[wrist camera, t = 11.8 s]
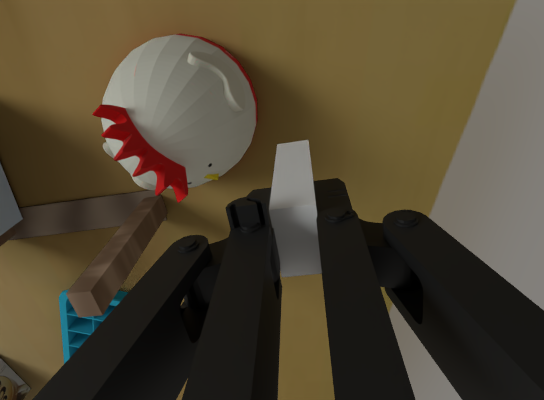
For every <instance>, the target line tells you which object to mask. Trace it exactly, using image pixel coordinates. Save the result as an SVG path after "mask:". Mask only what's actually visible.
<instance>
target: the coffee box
mask: <svg viewBox="0 0 544 400" xmlns="http://www.w3.org/2000/svg"><path fill="white" fill-rule="evenodd" d="M30 389H31V388H30V387H29V386H28V385H27V384H26V383H25V382H24V381H23V380H22V379H21V378H20V377H19V376H18V375H17V374H16V373H15V372H14V371H13V370H12V369H11V368H10V367H9V366H8V365H7V364H6V363H5V362H4V361H3V360H2V359H1V358H0V400H23V399H24V398H25V396H26V395H27V393H28V392H29V391H30Z"/></svg>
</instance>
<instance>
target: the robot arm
mask: <svg viewBox="0 0 544 400" xmlns="http://www.w3.org/2000/svg"><path fill="white" fill-rule="evenodd" d="M226 212H227V216H228V220H229V224H230V228H231V231H230V235H229V237H228V238H226V239H224V240H222V241H219V242H215V243H212V244H209V243H208V239H207V238H206V237H204V236H201V235H190V236H187V237H183V238H181V239H180V240H178V241H176V242H174V243H173V244H172V245H171V246H170V247H169V248H168V249H167V250H166V251H165V253H164V254H163V255H162V256H161V257H160V258H159V259H158V260H157V261H156V263H155V264H154V265H153V266H152V267H151V268H150V269H149V270H148V271H147V273H146V274H145V275H144V276H143V277H142V278H141V279H140V280H139V282H138V283H137V284H136V285H135V286H134V287H133V288H132V289H131V290H130V292H129V293H128V294H127V295H126V296H125V297H124V298H123V299H122V300H121V302H120V303H119V304H118V305H117V306H116V307H115V308H114V309H113V310H112V312H111V313H110V314H109V315H108V316H107V317H106V318H105V319H104V321H103V322H102V323H101V324H100V325H99V326H98V327H97V328H96V329H95V331H94V332H93V333H92V334H91V335H90V336H89V337H88V338H87V339H86V341H85V342H84V343H83V344H82V345H81V346H80V347H79V348H78V349H77V351H76V352H75V353H74V354H73V355H72V356H71V357H70V358H69V360H68V361H67V362H66V363H65V364H64V365H63V366H62V367H61V368H60V370H59V371H58V372H57V373H56V374H55V375H54V376H53V377H52V378H51V380H50V381H49V382H48V383H47V384H46V385H45V386H44V387H43V388H42V390H41V391H40V392H39V393H38V394H37V395H36V396H35V397H34V399H33V400H176V399H177V397H178V395H179V393H180V391H181V390H182V388H183V386H184V384H185V382H186V380H187V378H188V380H187V384H186V387H185V391H184V394H183V397H182V400H277V398H278V373H279V348H280V322H281V297H282V285H281V280H280V270H281V275H282V277H290V276H300V275H310V274H321V273H322V280H323V289H324V299H325V308H326V318H327V328H328V337H329V347H330V356H331V366H332V375H333V385H334V394H335V400H415V397H414V394H413V390H412V387H411V384H410V381H409V378H408V374H407V371H406V368H405V365H404V362H403V358H402V355H401V352H400V349H399V346H398V342H397V339H396V336H395V333H394V330H393V327H392V324H391V320H390V317H389V314H388V311H387V307H386V304H385V301H384V298H383V295H382V292H381V288H380V287H385V291H386V293H387V295H388V296H389V298H390V299H391V301H392V302H393V303H394V305H395V306H396V308H397V309H398V310H399V312H400V313H401V315H402V316H403V317H404V319H405V320H406V322H407V323H408V324H409V326H410V327H411V329H412V330H413V331H414V333H415V334H416V335H417V337H418V338H419V340H420V341H421V343H422V344H423V345H424V346H425V348H426V349H427V351H428V352H429V354H430V355H431V357H432V358H433V359H434V361H435V362H436V364H437V365H438V366H439V368H440V369H441V371H442V372H443V373H444V375H445V376H446V377H447V379H448V380H449V382H450V383H451V385H452V386H453V387H454V389H455V390H456V392H457V393H458V394H459V396H460V397H461V399H462V400H544V310H542V309H541V308H540V307H539V306H537V305H536V304H535V303H533V302H532V301H531V300H530V299H529V298H527V297H526V296H525V295H524V294H522V293H521V292H520V291H519V290H518V289H516V288H515V287H514V286H513V285H511V284H510V283H509V282H507V281H506V280H505V279H504V278H503V277H501V276H500V275H499V274H498V273H496V272H495V271H494V270H493V269H491V268H490V267H489V266H488V265H487V264H485V263H484V262H483V261H482V260H480V259H479V258H478V257H477V256H475V255H474V254H473V253H472V252H470V251H469V250H468V249H467V248H465V247H464V246H463V245H462V244H460V243H459V242H458V241H457V240H456V239H454V238H453V237H452V236H451V235H449V234H448V233H447V232H446V231H444V230H443V229H442V228H441V227H439V226H438V225H437V224H436V223H435V222H433V221H432V220H431V219H430V218H428V217H427V216H426V215H424V214H422V213H420V212H416V211H412V210H399V211H394V212H391V213H389V214H387V215H386V216H385V217H384V218H383V223H373V222H367V221H363V220H361V219H359V218H358V215H357V214H356V212H355V211H354V210H353V209H352V206H351V203H350V200H349V196H348V193H347V190H346V186H345V183H344V182H343V181H341V180H340V179H338V178H335V179H327V180H319V181H313V173H312V165H311V157H310V149H309V141H308V140H303V141H296V142H289V143H282V144H277V150H276V158H275V166H274V174H273V181H272V188H264V189H257V190H253V191H252V192H250V193H249V194H248V195H247V197H243V198H239V199H237V200H234V201H232V202H231V203H229V204H228V205H227V207H226ZM183 298H184V300H185V301H184V302H183V304H182V305H181V302H182V300H183Z"/></svg>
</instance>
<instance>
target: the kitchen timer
mask: <svg viewBox="0 0 544 400" xmlns="http://www.w3.org/2000/svg"><path fill="white" fill-rule="evenodd" d="M92 115H94V116H97V117H101V118H102V125H103V130H104V133H103V134H102V137H105V138H106V142H105V143H104V144H103V148H104V150H105V152H106V153H107V154H108V155H110V156H111V157H112V158H114V160H115V161H118V162H119V163H120V164H121V165H122V166H123V167H124V168H125V169H126V170H127V171H128V172H129V173H130V175H131V176H132V179H133V180H134V182H135V183H136V184H137V185H139V186H140V187H142V188H144V189H147V190H155V195H156V196H158V195H159V194H161V193H162V192H163V191H164V190H165V189H166V188H171V189H174V192H175V195H176V199H177V202H178V203H179V202H180V201H181V200H183V199H184V198H185V197H186V196H187V195H188V188H190V187H196V186H199V185H201V184H204V183H206V182H208V181H211V180H218V177H220V176H222V175H224V174H225V173H226V172H227V171H228V170H229V169H231V168H232V167H233V166H234V165H235V164H237V163H238V162H239V161H240V160H241V158H242V156H243V155H244V153H245V152H246V150H247V149H248V147H249V145H250V144H251V142H252V139H253V135H254V131H255V128H256V124H257V120H258V118H257V98H256V95H255V92H254V89H253V86H252V83H251V80H250V78H249V77H248V75H247V73H246V72H245V70H244V69H243V67H242V66H241V64H240V63H239V61H238V60H237V59H235V58H234V57H233V56H232V55H231V54H230V53H229V52H227V51H226V50H225V49H224V48H223V47H222V46H220V45H218V44H216V43H213V42H211V41H209V40H207V39H205V38H203V37H199V36H192V35H185V34H176V35H170V36H164V37H158V38H153V39H152V40H150V41H148V42H146V43H144V44H143V45H141V46H139V47H137V48H135V49H134V50H132V51H131V52H130V53H129V54H128V56H127V57H126V58H125V59H124V60H123V61H122V63H121V64H120V65H119V66H118V67H117V68H116V70H115V72H114V73H113V75H112V77H111V80H110V82H109V85H108V87H107V90H106V92H105V95H104V97H103V103H102V105H100V106H99V107H98V108H97V109H96V110H95V112H94V113H93V114H92Z"/></svg>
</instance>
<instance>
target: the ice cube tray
mask: <svg viewBox="0 0 544 400" xmlns="http://www.w3.org/2000/svg"><path fill="white" fill-rule="evenodd" d="M67 292H68V290H65V291H63V292H62V293H61V294H60V296H59V304H60V317H61V329H62V341H63V353H64V364H65V363H66V362H67V361H68V360H69V358H70V357H71V356H72V355H73V354H74V353H75V352H76V351H77V349H78V348H79V347H80V346H81V345H82V344H83V343H84V342H85V341H86V339H87V338H88V337H89V336H90V335H91V334H92V333H93V332H94V331H95V329H96V328H97V327H98V326H99V325H100V324H101V323H102V322H103V321H104V319H105V318H106V317H107V316H108V315H109V314H110V313H111V312H112V310H113V309H114V308H115V306H117V305H118V304H119V303H120V302H121V300H122V299H123V298H124V297H125V296H126V295H127V294H128V292H123V291H118V292H117V294H116V295H115V297H114V298H113V300H112V301H111V303H110V305H113V306H110V305H109V306H108V308H107V309H106V311H105V312H104V314H103V315H100V316H89V317H78V315H77V313H76V312H75V310H74V308H73V306H72V304H71V303H70V301H69V299H68V297H67V295H66V293H67Z"/></svg>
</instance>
